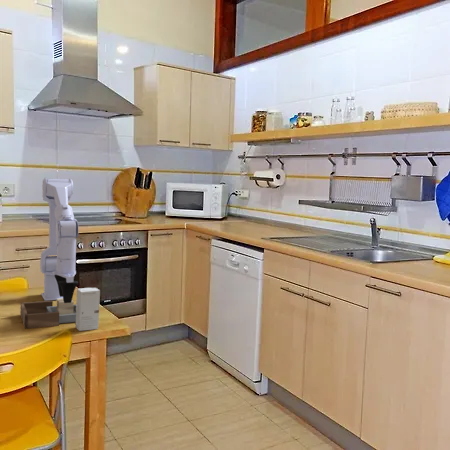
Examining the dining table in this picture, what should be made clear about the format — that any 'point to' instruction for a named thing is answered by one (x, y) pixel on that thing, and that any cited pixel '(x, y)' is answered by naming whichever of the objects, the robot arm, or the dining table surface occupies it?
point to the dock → (38, 314)
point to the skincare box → (87, 308)
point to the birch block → (64, 307)
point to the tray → (65, 317)
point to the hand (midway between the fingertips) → (65, 299)
